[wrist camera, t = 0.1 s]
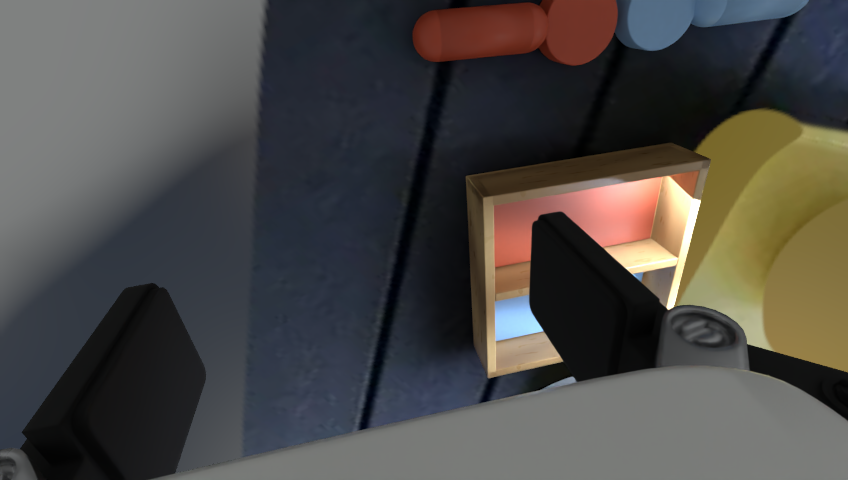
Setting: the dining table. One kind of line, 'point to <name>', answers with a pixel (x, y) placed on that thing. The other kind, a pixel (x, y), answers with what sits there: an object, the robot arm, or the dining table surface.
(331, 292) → the dining table surface
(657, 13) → the blue disc-ended peg
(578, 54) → the red knob peg
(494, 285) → the caddy
